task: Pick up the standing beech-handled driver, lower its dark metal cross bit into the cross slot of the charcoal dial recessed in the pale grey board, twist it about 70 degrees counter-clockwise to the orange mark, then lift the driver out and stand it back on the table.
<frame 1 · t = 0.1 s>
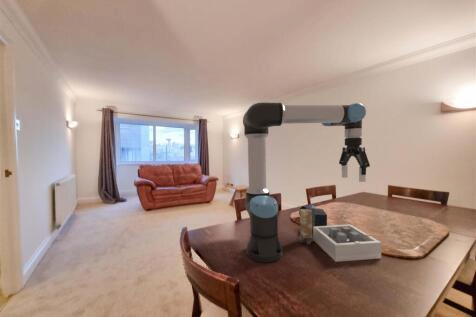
hand: (352, 179, 102), 28 cm above the table, fingers open, 13 cm apart
small box: (319, 230, 108), on the table
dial: (344, 237, 88), point 5 cm above the table, hinge at 0.0°
rock: (309, 219, 126), on the table
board: (343, 248, 88), on the table
driver: (306, 241, 96), on the table
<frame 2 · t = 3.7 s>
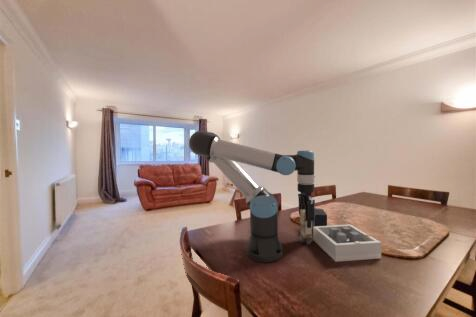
hand: (306, 231, 96), 5 cm above the table, fingers closed on driver, 4 cm apart
driver: (306, 241, 96), on the table, touching gripper
everything else where it was.
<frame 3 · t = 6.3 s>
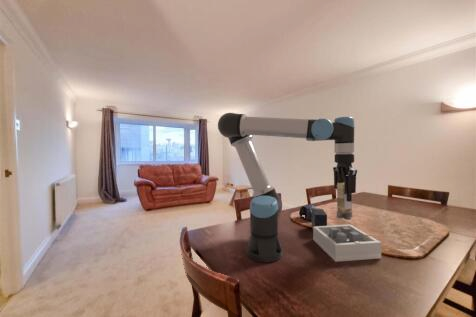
hand: (344, 206, 88), 18 cm above the table, fingers closed on driver, 4 cm apart
driver: (344, 217, 88), point 14 cm above the table, touching gripper
everything else where it was.
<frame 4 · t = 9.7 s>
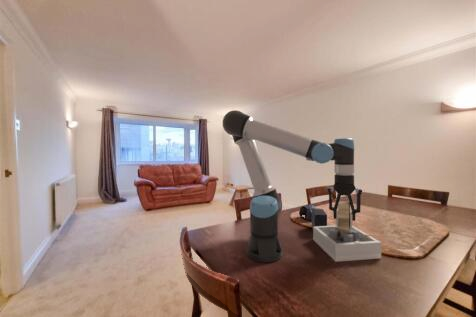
hand: (344, 226, 88), 10 cm above the table, fingers closed on driver, 5 cm apart
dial: (345, 237, 88), point 5 cm above the table, hinge at 36.5°, touching driver
driver: (344, 236, 88), point 5 cm above the table, touching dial, gripper
everything else where it was.
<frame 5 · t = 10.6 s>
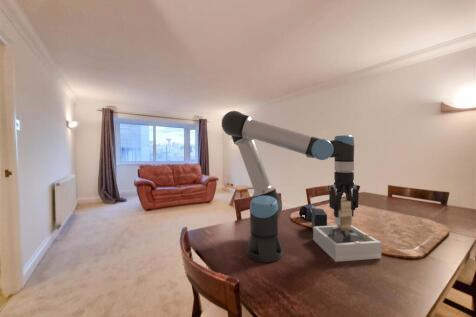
hand: (343, 223, 88), 11 cm above the table, fingers closed on driver, 4 cm apart
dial: (345, 237, 88), point 5 cm above the table, hinge at 71.9°, touching driver
driver: (343, 234, 88), point 6 cm above the table, touching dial, gripper
everything else where it was.
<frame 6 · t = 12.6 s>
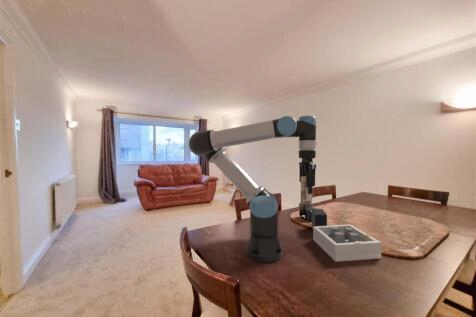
hand: (306, 199, 95), 20 cm above the table, fingers closed on driver, 4 cm apart
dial: (345, 237, 88), point 5 cm above the table, hinge at 74.3°
driver: (305, 208, 95), point 16 cm above the table, touching gripper
everything else where it was.
when the fingers open (6 cm above the table, at t = 15.7 s): driver drops 2 cm, on the table.
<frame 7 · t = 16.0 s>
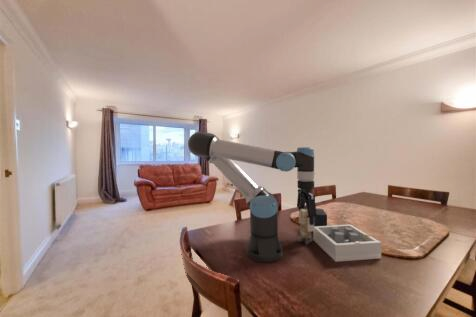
hand: (306, 226, 95), 7 cm above the table, fingers open, 9 cm apart
driver: (305, 240, 96), on the table
everything else where it was.
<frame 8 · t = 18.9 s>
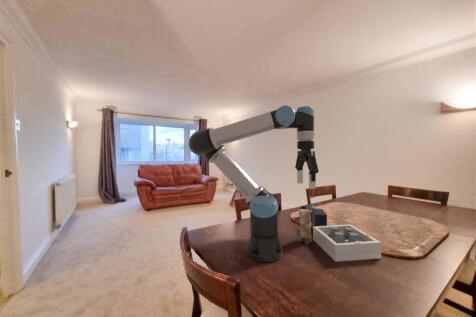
hand: (305, 185, 95), 27 cm above the table, fingers open, 13 cm apart
nothing on the table moved.
at the end: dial at +74° (first picture: +0°); the gripper is holding nothing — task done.
